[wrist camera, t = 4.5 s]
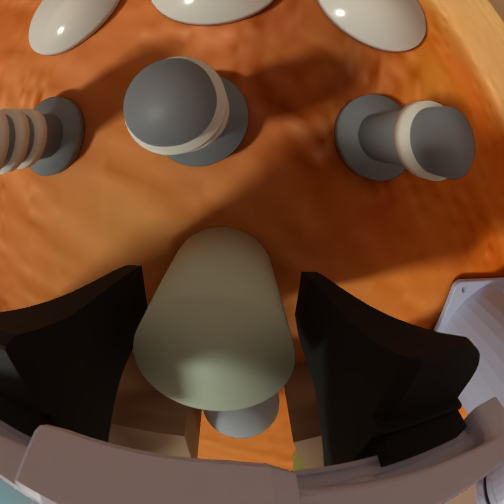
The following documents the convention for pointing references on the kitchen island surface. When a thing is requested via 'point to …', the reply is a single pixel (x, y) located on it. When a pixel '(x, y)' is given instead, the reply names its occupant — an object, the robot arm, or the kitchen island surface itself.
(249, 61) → the kitchen island surface
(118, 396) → the walnut block
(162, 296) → the pale green rounded cylinder
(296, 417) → the walnut block
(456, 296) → the robot arm
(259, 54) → the kitchen island surface
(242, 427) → the grey ball
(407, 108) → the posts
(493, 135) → the kitchen island surface
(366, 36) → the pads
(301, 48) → the kitchen island surface
